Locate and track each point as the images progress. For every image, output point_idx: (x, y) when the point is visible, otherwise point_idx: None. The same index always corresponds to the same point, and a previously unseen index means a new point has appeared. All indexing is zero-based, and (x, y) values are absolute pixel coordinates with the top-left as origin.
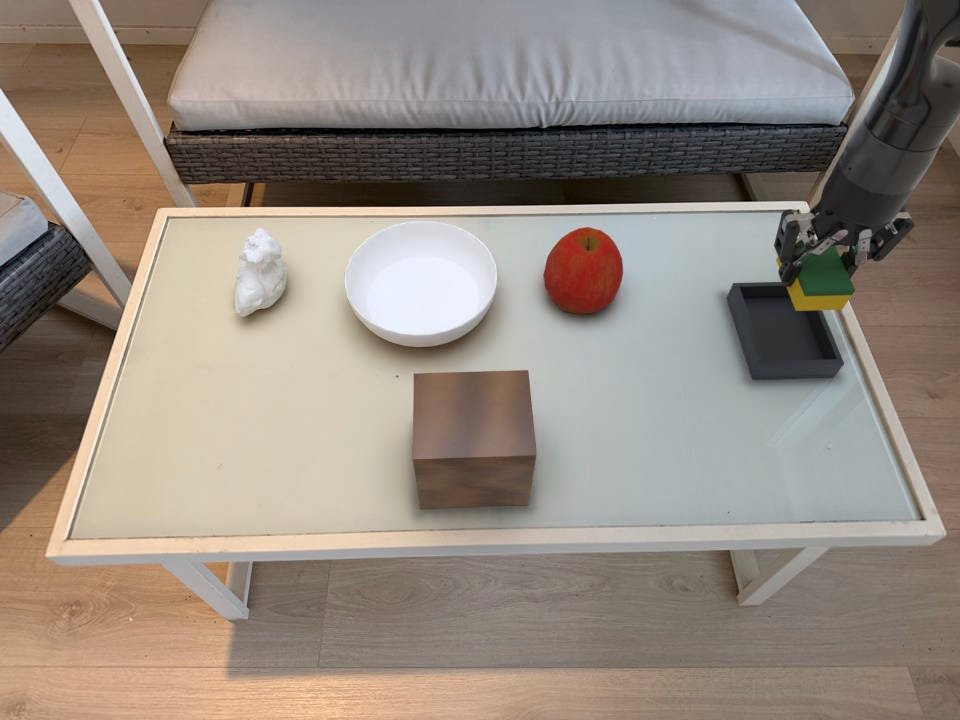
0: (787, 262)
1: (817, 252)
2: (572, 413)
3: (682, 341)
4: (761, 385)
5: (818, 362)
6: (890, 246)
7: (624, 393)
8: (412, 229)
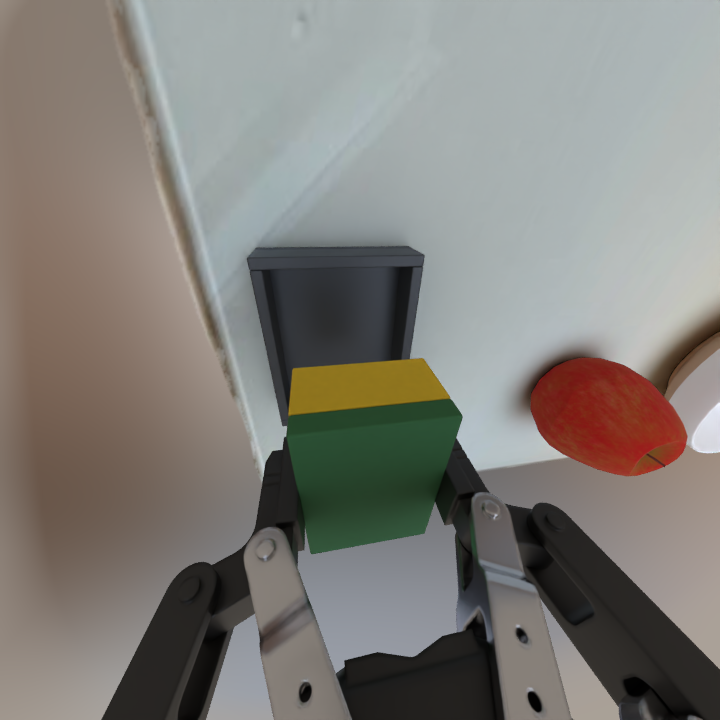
0: (534, 509)
1: (512, 601)
2: (706, 185)
3: (480, 321)
4: (396, 233)
5: (305, 261)
6: (133, 712)
7: (612, 224)
8: (717, 441)
